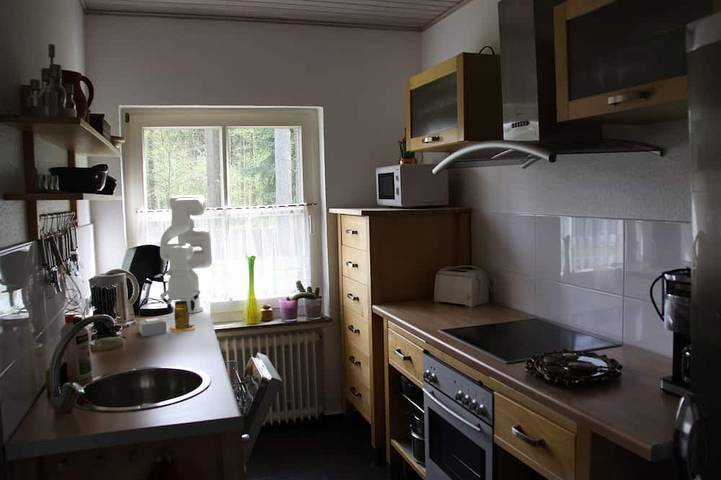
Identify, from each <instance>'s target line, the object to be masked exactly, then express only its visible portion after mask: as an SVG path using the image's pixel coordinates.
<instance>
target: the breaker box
mask: <svg viewBox="0 0 721 480" xmlns="http://www.w3.org/2000/svg"><path fill="white" fill-rule="evenodd" d="M157 318H158V319H159V322H152V323H146V321H145V319H141V320H138V329H139V330H138V332H139V333H140V335H141V337H147V336H155V335H163V334H167V321H166V320H165V319H164V318H163V317H157Z"/></svg>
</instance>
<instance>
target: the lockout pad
mask: <svg viewBox="0 0 721 480" xmlns="http://www.w3.org/2000/svg"><path fill="white" fill-rule="evenodd" d="M189 325H191V324H190V323H189ZM172 328H175V325H171V326H169V329H170V330H171V331H172V332H173V333H182V332H183V333H184V332H190V331H196V328H195V326H192V327H190V328H188V329H172Z"/></svg>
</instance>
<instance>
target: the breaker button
mask: <svg viewBox="0 0 721 480" xmlns="http://www.w3.org/2000/svg"><path fill="white" fill-rule="evenodd" d="M158 318H159V317H153V318H147V319H144V320H145V321H146V323H152V322H159V319H158Z"/></svg>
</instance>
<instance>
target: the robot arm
mask: <svg viewBox="0 0 721 480" xmlns="http://www.w3.org/2000/svg"><path fill="white" fill-rule="evenodd" d="M168 203H169V207H170V210H171V225H170V226H169V227H168V228H166V230H165V231H164V232H163V234H162V235H161V238H160V245H159V247H160V248H159V255H160V258H161V260H162V261H167V262H169V271H167V272H166V275H167V276H169V277H168V283H167V285H168V286H167V290H166V291H164V292H163V293H160V295H159V297H160V298H161V300H162V301H163V302H164V303H165V304H166V306H167V308H166V309H167V312H169V314H172V313H173V311H172V304H171V303H172V302H173V301H183V300H184V301H187V306H188V312H189V314H194V313H195V314H196V313H200V312H202V311H204V308H203V307H202V306H200V304H201V303H200V301H201V300H200V294H201V290H200V285H199V283H200V282H199V276H198V274H197V272H196V271H194V269H206V268H210V267H211V265H212V261H213V260H212V256H213V255H212V243H211V234H210V231H209V230H208V229H207V228H203V227H202V228H201V227H200V228H199V227H198V228H195V219H194V217H195V216H197V217H198V216H202V215H204V212H205V211H206V206H207V205H206V203H207V201H206V199H205V197H204V195H202V194H200V195H199V194H197V195H195V194H194V195H189V194H188V195H185V194H184V195H175V196H171V197H170V198H169V201H168ZM176 237H177V241H178V243H169V242H170V241H171V240H172V239H174V238H176ZM194 248H201V249H194ZM166 295H168V299H166V297H165V296H166Z"/></svg>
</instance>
